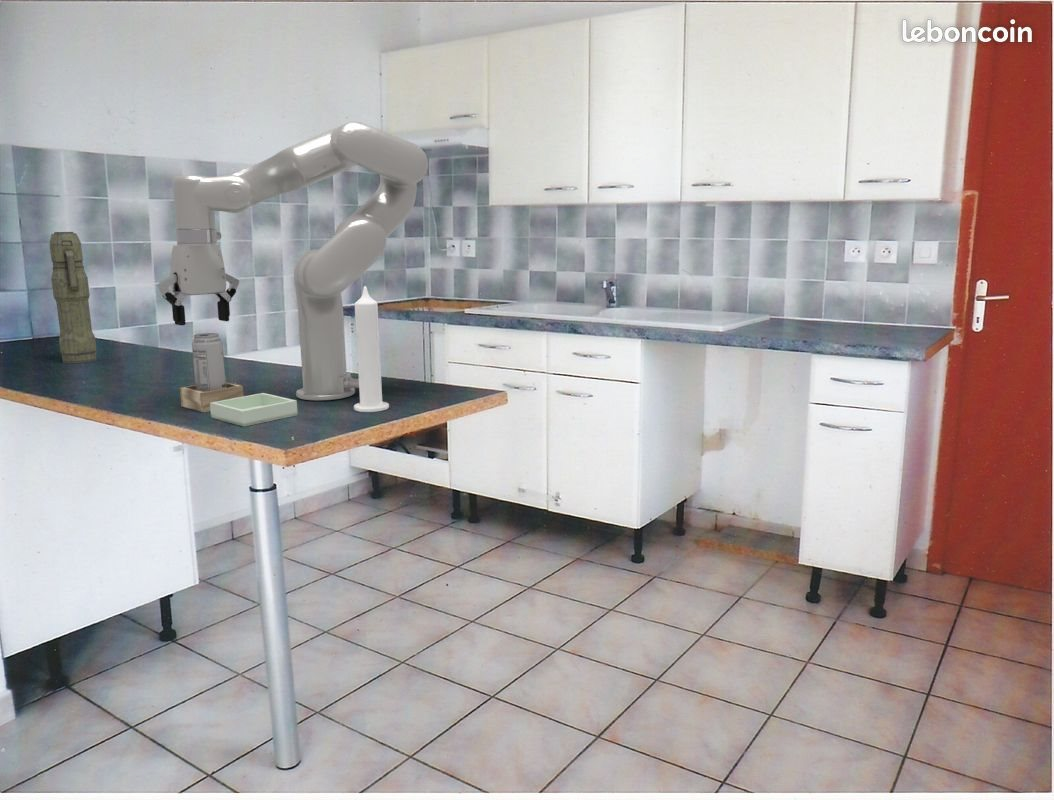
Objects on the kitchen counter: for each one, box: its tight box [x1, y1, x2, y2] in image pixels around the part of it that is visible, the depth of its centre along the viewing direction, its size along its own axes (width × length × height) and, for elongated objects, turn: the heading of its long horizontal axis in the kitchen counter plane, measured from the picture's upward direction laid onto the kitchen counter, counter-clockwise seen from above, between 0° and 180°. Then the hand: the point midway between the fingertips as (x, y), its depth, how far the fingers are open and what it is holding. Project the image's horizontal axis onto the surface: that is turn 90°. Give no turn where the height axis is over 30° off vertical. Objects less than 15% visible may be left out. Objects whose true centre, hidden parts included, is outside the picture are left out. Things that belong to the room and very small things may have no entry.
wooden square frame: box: [179, 381, 245, 413], centre depth 184 cm, size 9×9×4 cm
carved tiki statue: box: [49, 231, 98, 365], centre depth 239 cm, size 9×12×35 cm
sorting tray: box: [209, 392, 299, 428], centre depth 174 cm, size 12×12×3 cm
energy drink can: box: [191, 332, 227, 392], centre depth 183 cm, size 6×6×15 cm
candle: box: [353, 285, 390, 413], centre depth 177 cm, size 7×7×25 cm
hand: (202, 322), depth 181 cm, fingers open, 9 cm apart
